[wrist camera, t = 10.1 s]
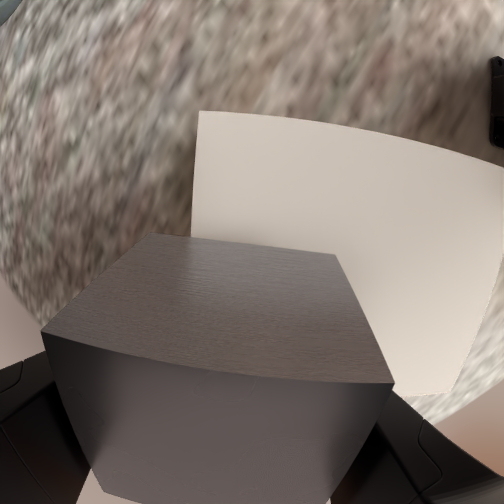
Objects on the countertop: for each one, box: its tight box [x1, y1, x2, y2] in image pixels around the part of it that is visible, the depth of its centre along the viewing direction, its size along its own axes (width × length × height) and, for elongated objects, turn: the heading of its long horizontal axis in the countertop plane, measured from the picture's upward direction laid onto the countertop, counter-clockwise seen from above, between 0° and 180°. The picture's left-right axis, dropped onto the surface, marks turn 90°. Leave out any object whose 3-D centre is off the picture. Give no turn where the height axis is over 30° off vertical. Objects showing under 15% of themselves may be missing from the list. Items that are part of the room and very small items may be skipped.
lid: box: [191, 111, 504, 397], centre depth 13 cm, size 14×12×1 cm
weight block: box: [41, 232, 395, 504], centre depth 7 cm, size 5×5×5 cm
